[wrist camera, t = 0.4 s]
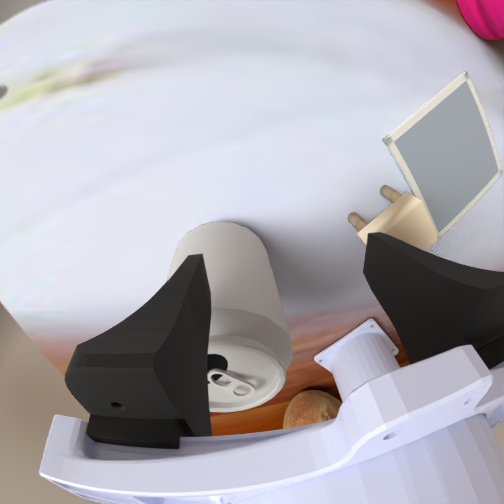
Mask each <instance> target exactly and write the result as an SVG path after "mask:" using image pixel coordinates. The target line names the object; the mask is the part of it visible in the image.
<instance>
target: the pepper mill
mask: <svg viewBox="0 0 504 504" xmlns="http://www.w3.org/2000/svg"><path fill="white" fill-rule="evenodd" d="M457 3H458V7H459V9H460V12H461V14H462V16H463V18H464V19H465V21H466V23H467V24H468V25H469V27H470V28H471V29H472V30H473V31H474V32H475V33H476V34H477V35H478V36H480V37H481V38H483V39H486V40H500V39H501V38H503V39H504V0H457Z"/></svg>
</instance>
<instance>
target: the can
mask: <svg viewBox="0 0 504 504" xmlns="http://www.w3.org/2000/svg"><path fill="white" fill-rule="evenodd" d="M195 254H203V258H204V263H205V267H206V272H207V277H208V282H209V286H210V291H211V311H212V313H211V324H210V334H209V345H208V357H207V373H208V394H209V409H210V411H211V412H233V411H241V410H246V409H249V408H252V407H256V406H259V405H261V404H263V403H264V402H266V401H268V400H270V399H271V398H273V397H274V396H275V395H276V394H277V393H278V392H279V391H280V390H281V389H282V387H283V385H284V383H285V380H286V378H287V377H286V370H287V369H288V368H289V365H290V363H291V360H292V357H293V348H292V340H291V336H290V333H289V329H288V325H287V322H286V318H285V314H284V311H283V307H282V303H281V300H280V296H279V293H278V289H277V285H276V282H275V278H274V275H273V271H272V267H271V264H270V260H269V257H268V253H267V250H266V248H265V246H264V245H263V243H262V241H261V240H260V238H259V237H258V236H257V235H255V234H254V233H253V232H252V231H251V230H249V229H248V228H246V227H243V226H241V225H238V224H236V223H233V222H221V221H216V222H211V223H206V224H202V225H200V226H198V227H196V228H194V229H193V230H191V231H189V232H188V233H187V234H186V235H185V236H184V237H183V238H182V239H181V241H180V242H179V243H178V245H177V248H176V250H175V253H174V256H173V259H172V263H171V267H170V271H169V275H168V279H167V281H168V280H169V279H170V277H171V276H172V275H173V274H174V273H175V271H176V270H177V269H178V268H179V266H180V265H181V264H182V262H183V261H184V260H185V259H186V258H187V256H188V255H195Z"/></svg>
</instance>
